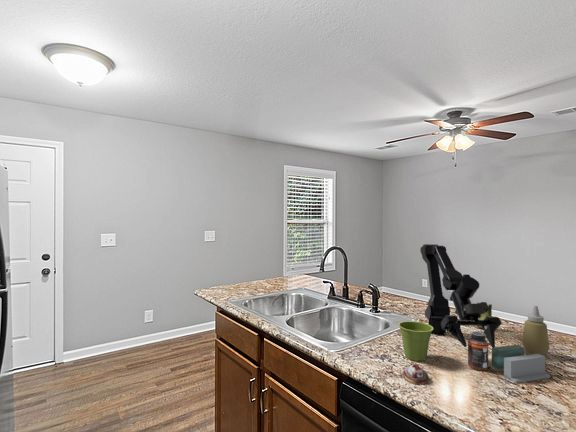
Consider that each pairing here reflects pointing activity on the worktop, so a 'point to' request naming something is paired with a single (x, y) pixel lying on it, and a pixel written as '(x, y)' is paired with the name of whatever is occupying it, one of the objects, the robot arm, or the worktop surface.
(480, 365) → the supplement bottle
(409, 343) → the plant pot
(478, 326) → the fennel bulb
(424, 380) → the pastry
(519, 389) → the worktop surface
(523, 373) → the backstop wall
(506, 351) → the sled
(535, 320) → the squeeze bottle
